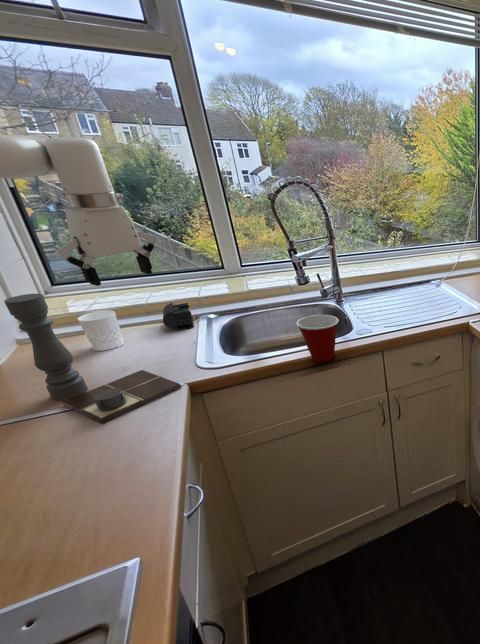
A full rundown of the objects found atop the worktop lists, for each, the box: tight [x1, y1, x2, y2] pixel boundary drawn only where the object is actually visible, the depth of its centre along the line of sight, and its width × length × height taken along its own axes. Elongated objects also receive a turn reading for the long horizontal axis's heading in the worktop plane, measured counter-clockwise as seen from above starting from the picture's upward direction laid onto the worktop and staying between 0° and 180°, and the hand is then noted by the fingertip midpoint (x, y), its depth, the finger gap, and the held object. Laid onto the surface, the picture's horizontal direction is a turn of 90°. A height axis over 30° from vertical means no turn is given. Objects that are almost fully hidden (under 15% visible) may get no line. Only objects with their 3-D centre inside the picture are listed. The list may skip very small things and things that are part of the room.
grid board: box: [61, 369, 182, 425], centre depth 98 cm, size 16×16×1 cm
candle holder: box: [3, 293, 89, 402], centre depth 94 cm, size 6×6×25 cm
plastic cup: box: [296, 314, 340, 363], centre depth 116 cm, size 11×11×12 cm
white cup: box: [77, 309, 125, 352], centre depth 120 cm, size 8×8×10 cm
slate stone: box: [93, 388, 127, 411], centre depth 93 cm, size 5×5×3 cm
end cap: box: [162, 302, 195, 331], centre depth 135 cm, size 10×7×7 cm
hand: (122, 278), depth 92 cm, fingers open, 9 cm apart
